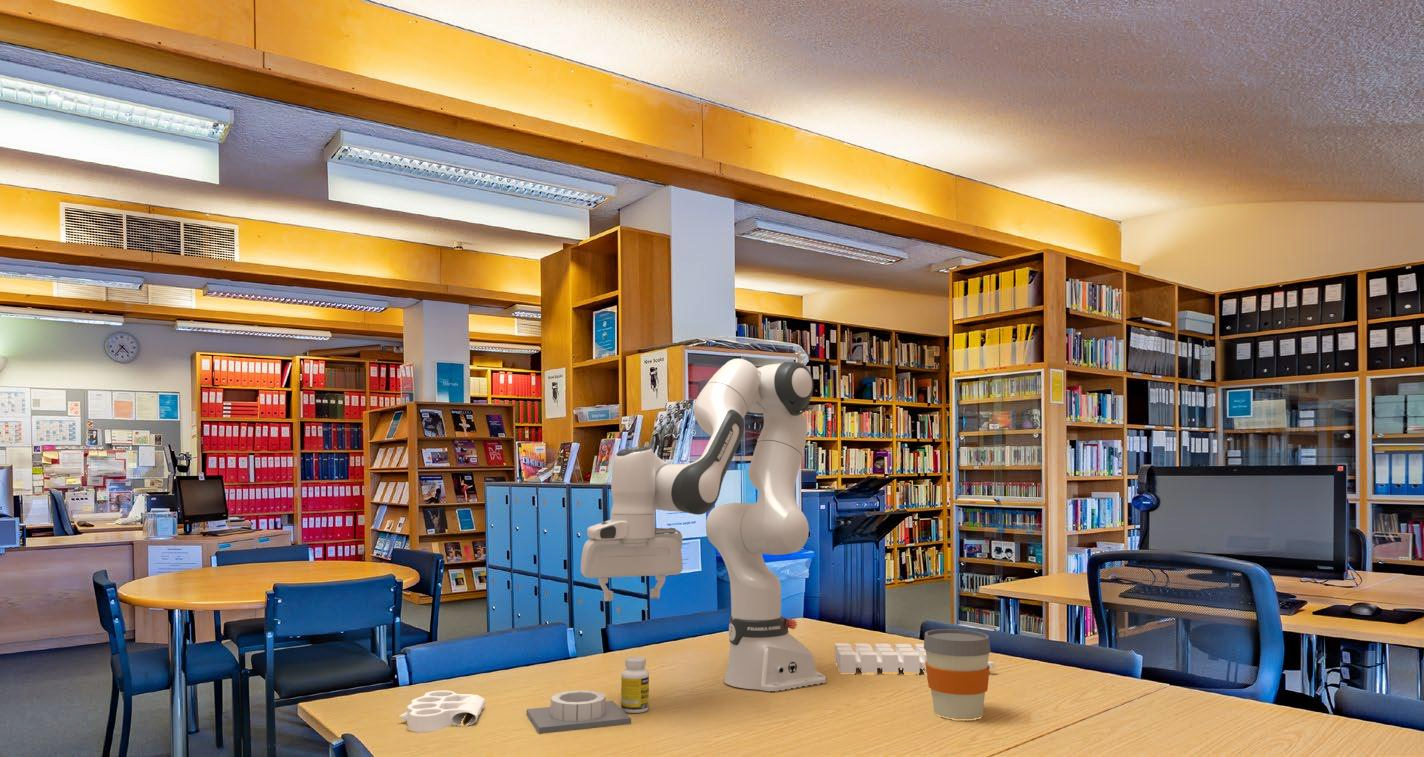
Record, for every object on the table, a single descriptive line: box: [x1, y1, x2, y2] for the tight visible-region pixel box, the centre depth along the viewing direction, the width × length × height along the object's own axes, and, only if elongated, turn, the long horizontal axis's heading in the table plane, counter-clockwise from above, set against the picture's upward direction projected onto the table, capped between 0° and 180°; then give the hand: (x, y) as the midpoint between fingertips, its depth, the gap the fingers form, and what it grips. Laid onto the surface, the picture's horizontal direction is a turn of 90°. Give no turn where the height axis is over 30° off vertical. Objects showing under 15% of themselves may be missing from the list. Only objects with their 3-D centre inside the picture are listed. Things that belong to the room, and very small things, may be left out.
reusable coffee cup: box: [923, 628, 992, 719], centre depth 174 cm, size 13×13×15 cm
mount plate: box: [526, 689, 632, 734], centre depth 170 cm, size 17×13×4 cm
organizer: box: [834, 642, 995, 674], centre depth 211 cm, size 13×5×35 cm
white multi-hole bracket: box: [397, 690, 486, 733], centre depth 170 cm, size 3×18×15 cm
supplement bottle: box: [620, 656, 650, 714], centre depth 176 cm, size 5×5×10 cm
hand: (631, 599), depth 177 cm, fingers open, 8 cm apart
